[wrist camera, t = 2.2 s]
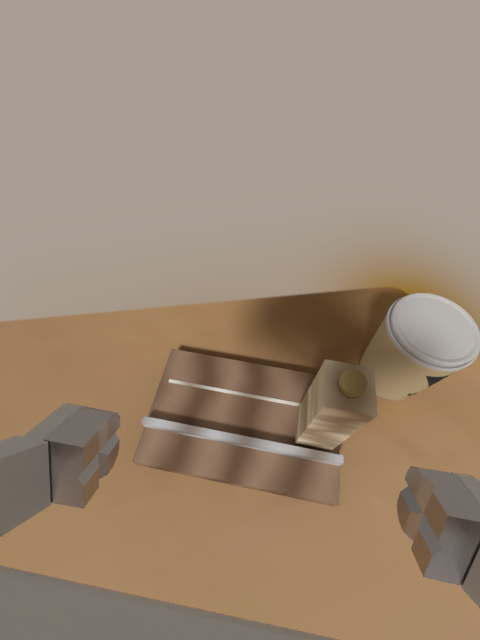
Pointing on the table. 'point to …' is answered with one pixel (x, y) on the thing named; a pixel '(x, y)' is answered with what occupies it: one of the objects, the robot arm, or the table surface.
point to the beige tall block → (336, 405)
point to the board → (236, 428)
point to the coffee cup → (420, 345)
